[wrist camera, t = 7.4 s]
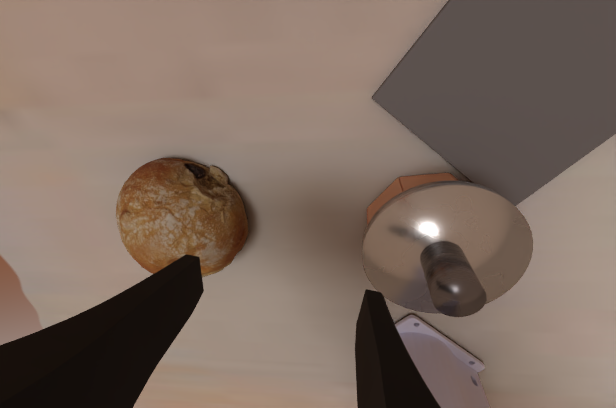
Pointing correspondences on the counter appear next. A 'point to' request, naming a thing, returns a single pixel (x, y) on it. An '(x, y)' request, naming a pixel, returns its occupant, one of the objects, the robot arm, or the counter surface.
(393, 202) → the lid
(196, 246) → the bread roll
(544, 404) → the counter surface
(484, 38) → the plate
